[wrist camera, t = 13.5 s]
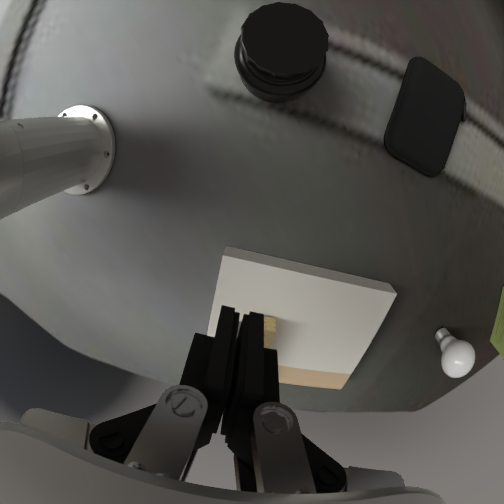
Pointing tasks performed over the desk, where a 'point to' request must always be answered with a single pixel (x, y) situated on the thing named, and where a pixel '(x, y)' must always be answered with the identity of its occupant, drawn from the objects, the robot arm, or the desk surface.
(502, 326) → the protein box
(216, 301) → the white cabinet door
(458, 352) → the lightbulb
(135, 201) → the desk surface
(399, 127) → the carrying case or bag
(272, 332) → the gold bar
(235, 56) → the ink bottle
